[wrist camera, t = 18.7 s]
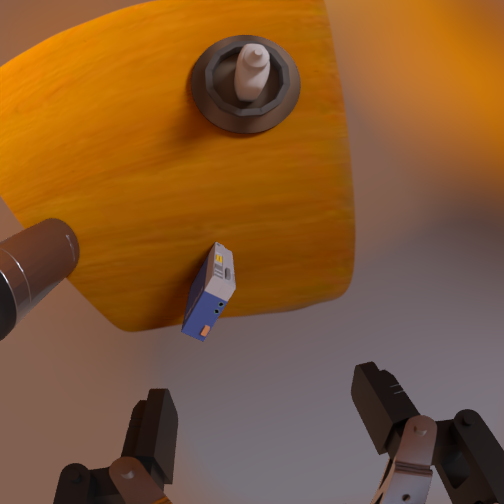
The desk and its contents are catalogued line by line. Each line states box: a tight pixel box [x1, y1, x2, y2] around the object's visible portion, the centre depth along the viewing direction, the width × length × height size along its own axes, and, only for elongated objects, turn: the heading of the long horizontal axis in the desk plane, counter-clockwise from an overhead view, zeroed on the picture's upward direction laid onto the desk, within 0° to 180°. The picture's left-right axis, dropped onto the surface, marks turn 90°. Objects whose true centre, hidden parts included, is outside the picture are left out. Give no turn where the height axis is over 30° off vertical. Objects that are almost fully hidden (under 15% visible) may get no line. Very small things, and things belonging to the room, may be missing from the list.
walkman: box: [181, 242, 236, 341], centre depth 36 cm, size 8×3×12 cm, turn 150°
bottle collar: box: [191, 35, 300, 134], centre depth 32 cm, size 14×14×4 cm
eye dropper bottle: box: [234, 44, 270, 102], centre depth 27 cm, size 4×6×12 cm
